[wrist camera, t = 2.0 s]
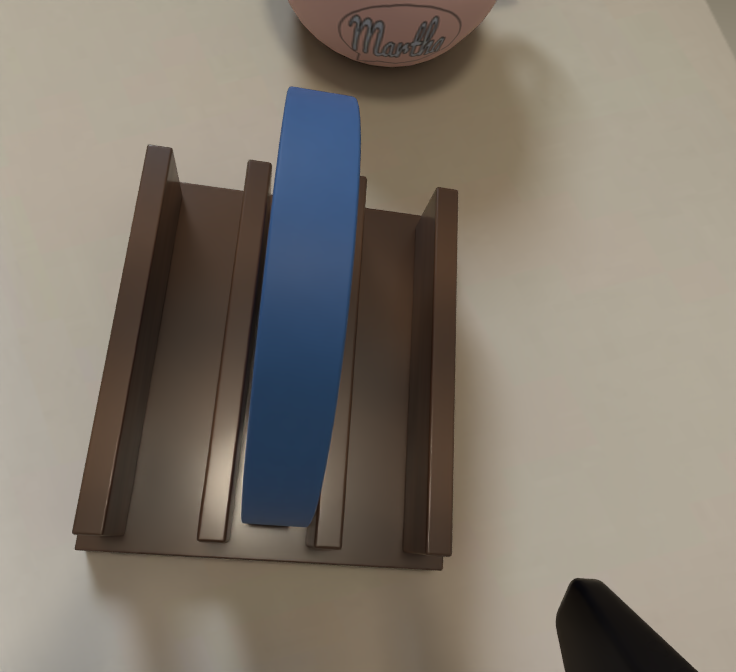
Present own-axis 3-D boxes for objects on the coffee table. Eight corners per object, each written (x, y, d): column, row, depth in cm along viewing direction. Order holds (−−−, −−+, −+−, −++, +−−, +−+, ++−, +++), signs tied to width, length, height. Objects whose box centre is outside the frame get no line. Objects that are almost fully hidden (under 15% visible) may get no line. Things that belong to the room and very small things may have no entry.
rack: (433, 568, 22) (472, 576, 18) (84, 548, 20) (42, 553, 16) (442, 232, 26) (475, 178, 22) (150, 193, 24) (130, 127, 20)
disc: (294, 529, 20) (336, 523, 10) (244, 526, 20) (234, 516, 10) (321, 225, 24) (374, -14, 13) (279, 219, 24) (299, -28, 13)
